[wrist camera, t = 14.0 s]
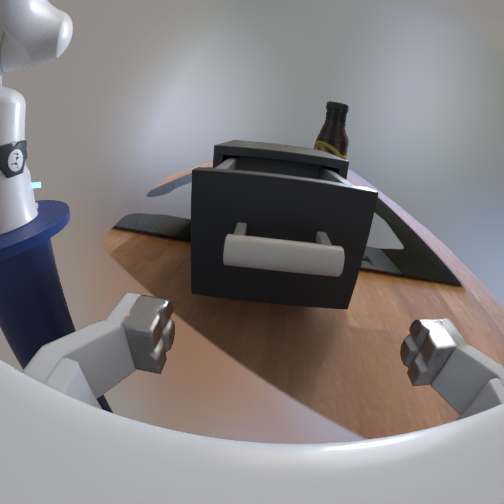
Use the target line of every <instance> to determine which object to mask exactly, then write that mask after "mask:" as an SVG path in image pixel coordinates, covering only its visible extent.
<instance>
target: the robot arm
mask: <svg viewBox="0 0 504 504" xmlns="http://www.w3.org/2000/svg"><path fill="white" fill-rule="evenodd" d="M72 32H73V25H72V21H71V19H70V17H69V15H68V14H67V13H65V12H63V11H60V10H58V9H57V8H55V7H54V6H52V5H51V4H50V3H49V2H48V1H47V0H0V235H1V234H4V233H7V232H10V231H12V230H15V229H17V228H19V227H21V226H23V225H25V224H27V223H29V222H30V221H32V220H33V219H34V218H35V217H36V216H37V215H38V211H37V209H38V203H37V202H35V199H34V195H33V189H32V188H40V187H41V182H36V183H31V178H30V173H29V170H28V168H27V166H26V162H25V160H26V159H27V142H26V140H25V109H26V103H25V99H24V97H23V96H22V95H21V94H20V93H19V92H17V91H15V90H13V89H10V88H7V87H3V86H2V76H3V74H5V73H7V72H11V71H15V70H19V69H24V68H29V67H34V66H37V65H40V64H43V63H46V62H48V61H51V60H54V59H57V58H58V57H59V56H60V55H61V54H62V53H63V52H64V51H65V49H66V48H67V46H68V44H69V42H70V40H71V37H72ZM23 140H25V141H23ZM19 141H20V142H19ZM15 142H16V143H15ZM172 312H173V306H172V302H171V300H167V299H162V298H156V297H151V296H146V295H140V294H134V293H126V294H125V295H124V296H123V297H122V299H121V300H120V301H119V302H118V304H117V305H116V306H115V308H114V309H113V310H112V312H111V313H110V315H109V316H108V317H107V318H106V320H105V321H98V322H96V323H94V324H91V325H89V326H87V327H84V328H82V329H80V330H78V331H75V332H73V333H71V334H69V335H66V336H64V337H62V338H60V339H57V340H55V341H53V342H51V343H48V344H46V345H44V346H42V347H41V348H40V349H39V351H38V352H37V353H36V354H35V356H34V357H33V358H32V360H31V361H30V362H29V364H28V365H27V366H26V368H25V369H24V370H23V372H20V371H18V370H16V369H15V368H13V367H12V366H10V365H8V364H7V363H5V362H3V361H2V360H0V504H504V367H502V366H501V365H499V364H498V363H496V362H495V361H493V360H492V359H490V358H489V357H487V356H486V355H484V354H483V353H481V352H480V351H478V350H477V349H475V348H474V347H472V346H471V345H470V346H468V345H467V344H466V342H465V341H464V339H463V338H462V336H461V335H460V333H459V332H458V331H457V329H456V328H455V326H454V325H453V324H452V322H451V321H450V320H448V319H436V320H415V321H414V322H413V323H412V324H411V326H410V328H409V330H410V334H409V335H408V336H407V337H406V338H405V339H404V341H403V343H402V345H401V351H400V355H401V360H402V362H403V364H404V365H406V366H407V367H408V371H407V374H408V376H409V378H410V381H411V383H412V385H413V386H420V385H429V384H431V386H432V387H433V388H434V389H435V390H436V391H437V392H438V393H439V394H440V395H441V396H442V397H443V398H444V399H445V400H446V401H447V402H448V403H449V404H450V405H451V406H452V407H453V408H454V409H455V411H456V412H457V413H458V414H459V415H460V416H459V417H458V418H457V419H456V421H454V422H451V423H447V424H444V425H440V426H436V427H433V428H429V429H424V430H420V431H416V432H411V433H406V434H401V435H395V436H389V437H383V438H376V439H369V440H360V441H350V442H337V443H320V444H319V443H318V444H280V443H278V444H277V443H260V442H247V441H237V440H228V439H219V438H213V437H207V436H200V435H195V434H189V433H184V432H180V431H175V430H170V429H166V428H162V427H158V426H154V425H150V424H146V423H143V422H139V421H135V420H132V419H129V418H126V417H122V416H119V415H116V414H113V413H110V412H108V411H105V410H102V408H101V406H100V404H99V403H98V401H97V398H99V397H100V396H101V395H103V394H104V393H106V392H107V391H108V390H110V389H111V388H112V387H114V386H115V385H117V384H118V383H119V382H121V381H122V380H123V379H125V378H126V377H127V376H129V375H130V374H131V373H133V372H134V371H135V370H136V369H138V370H143V371H148V372H153V373H158V374H161V372H162V369H163V366H164V364H165V362H166V352H167V351H169V350H170V349H171V347H172V344H173V340H174V335H175V325H174V321H173V320H172V319H171V318H170V317H171V315H172Z"/></svg>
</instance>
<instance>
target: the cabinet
mask: <svg viewBox="0 0 504 504" xmlns="http://www.w3.org/2000/svg"><path fill="white" fill-rule="evenodd" d="M232 156H244V157H255V158H265V159H274V160H282V161H291V162H298V163H305V164H312V165H319V166H325V167H328V168H329V169H331V170H332V171H334V172H335V173H337V174H338V175H340V176H341V177H343V178H344V179H345V180H346V178H347V172H348V171H347V170H348V165H349V161H346V160H344V159H342V158H340V157H337V156H335V155H332V154H330V153H327V152H325V151H322V150H317V149H311V148H303V147H297V146H289V145H281V144H273V143H263V142H253V141H240V140H233V141H229V142H225V143H221V144H218V145H215V146H214V157H213V158H214V159H213V168H216V167H217V166H218V165H220V164H221V163H223V162H224V161H226V160H227V159H229V158H230V157H232Z"/></svg>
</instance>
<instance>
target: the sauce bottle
mask: <svg viewBox="0 0 504 504" xmlns="http://www.w3.org/2000/svg"><path fill="white" fill-rule="evenodd" d="M326 108H327V113H326V120H325V123H324V125H323V127H322V129H321V131H320V133H319V135H318V138H317V140H316V141H315V147H314V149H317V150H322V151H325V152H327V153H330V154H332V155H335V156H337V157H340V158H342V159H344V160H346V157H347V155H346V154H347V148H348V137H347V135H346V132H345V126H346V125H345V122H346V114H347V112H348V108H349V107H348V105H346V104H343V103H338V102H331V101H329V102H327V106H326Z"/></svg>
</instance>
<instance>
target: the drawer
mask: <svg viewBox="0 0 504 504" xmlns="http://www.w3.org/2000/svg"><path fill="white" fill-rule="evenodd" d="M377 197H378V192H376V191H375V190H373V189H371V188H366V187H360V186H355V185H353V184H351V183H350V182H348V181H347V180H345V179H344V178H343V177H341V176H340V175H338V174H337V173H335V172H334V171H332V170H331V169H329V168H328V167H325V166H319V165H312V164H305V163H298V162H291V161H282V160H274V159H265V158H255V157H244V156H232V157H230V158H229V159H227V160H226V161H224V162H223V163H221V164H220V165H218V166H217V167H216V168H201V167H197V168H195V169H194V170H192V194H191V289H192V294H197V295H205V296H212V297H220V298H228V299H237V300H246V301H255V302H264V303H274V304H285V305H296V306H307V307H320V308H334V309H348V306H349V303H350V300H351V296H352V293H353V290H354V287H355V284H356V280H357V277H358V273H359V270H360V267H361V263H362V259H363V256H364V252H365V248H366V244H367V240H368V237H369V232H370V228H371V224H372V219H373V215H374V211H375V206H376V202H377Z"/></svg>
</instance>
